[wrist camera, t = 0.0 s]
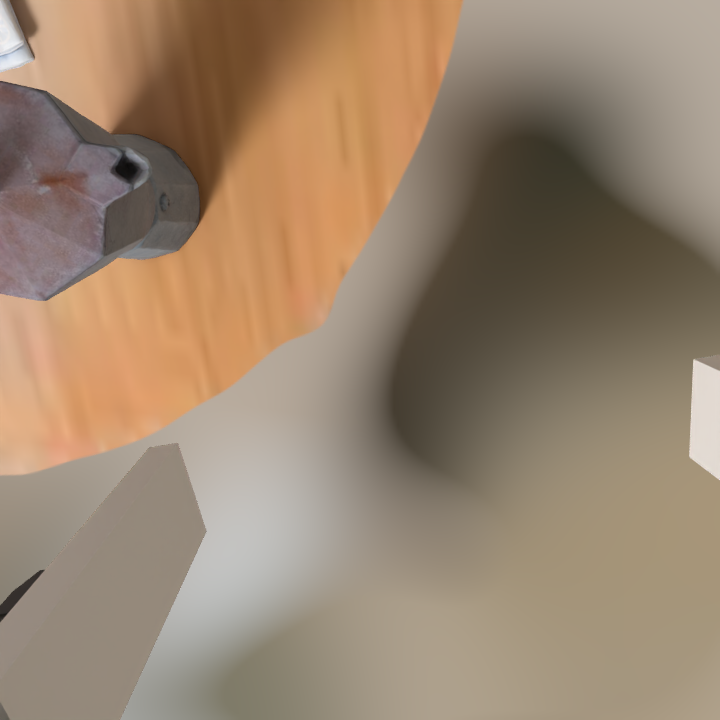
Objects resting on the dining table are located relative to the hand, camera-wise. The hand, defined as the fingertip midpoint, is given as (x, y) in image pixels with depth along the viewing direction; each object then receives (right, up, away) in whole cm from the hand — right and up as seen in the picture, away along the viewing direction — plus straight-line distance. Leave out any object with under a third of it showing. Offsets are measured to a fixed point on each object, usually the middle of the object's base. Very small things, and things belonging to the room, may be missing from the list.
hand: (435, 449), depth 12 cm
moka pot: (-19, +14, +25) cm, 34 cm away
